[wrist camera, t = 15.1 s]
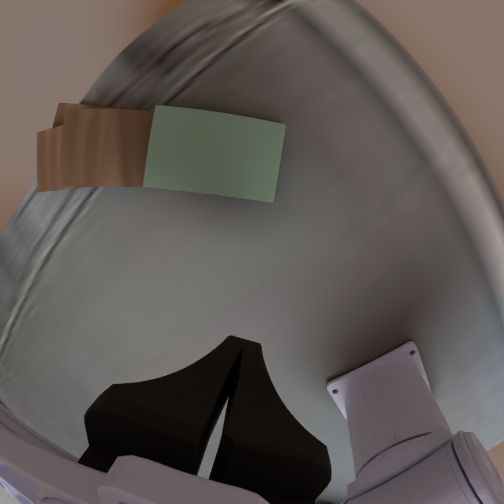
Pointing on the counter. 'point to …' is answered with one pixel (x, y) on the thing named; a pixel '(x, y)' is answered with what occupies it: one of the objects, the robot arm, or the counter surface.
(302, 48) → the counter surface
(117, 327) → the counter surface
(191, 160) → the green domino
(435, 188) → the counter surface
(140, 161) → the walnut domino
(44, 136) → the walnut domino
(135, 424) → the robot arm
